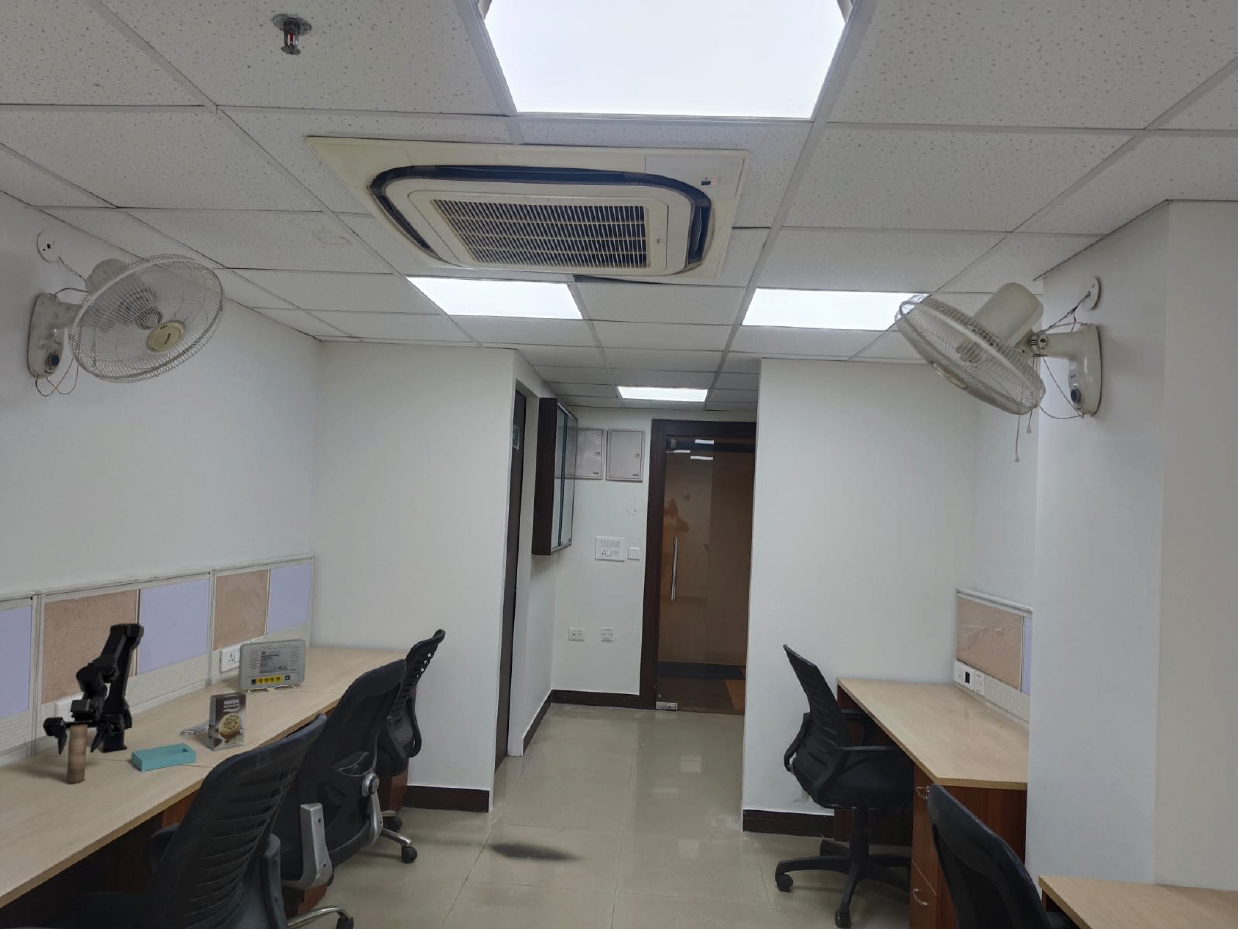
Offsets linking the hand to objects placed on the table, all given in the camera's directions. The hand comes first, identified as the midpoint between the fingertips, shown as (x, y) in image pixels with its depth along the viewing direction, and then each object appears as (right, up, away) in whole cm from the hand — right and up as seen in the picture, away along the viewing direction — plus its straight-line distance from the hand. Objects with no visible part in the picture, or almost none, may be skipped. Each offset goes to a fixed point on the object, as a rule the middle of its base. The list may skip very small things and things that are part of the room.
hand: (75, 753), depth 215 cm
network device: (+2, -16, +116) cm, 117 cm away
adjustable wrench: (+5, -13, +60) cm, 61 cm away
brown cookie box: (+23, -11, +36) cm, 44 cm away
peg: (-1, -8, +1) cm, 8 cm away
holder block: (+13, -10, +19) cm, 25 cm away
